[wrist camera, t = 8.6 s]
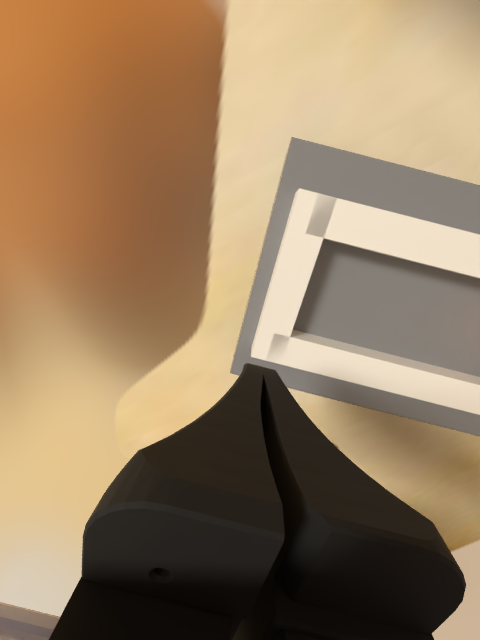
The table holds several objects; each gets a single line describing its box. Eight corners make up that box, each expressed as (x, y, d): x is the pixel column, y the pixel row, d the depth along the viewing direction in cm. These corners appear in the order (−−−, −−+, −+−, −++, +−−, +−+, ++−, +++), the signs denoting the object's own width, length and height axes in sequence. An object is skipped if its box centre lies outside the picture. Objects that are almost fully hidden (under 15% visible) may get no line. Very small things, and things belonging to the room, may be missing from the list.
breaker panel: (512, 427, 21) (567, 470, 17) (233, 357, 21) (227, 384, 17) (655, 246, 16) (779, 250, 12) (287, 151, 16) (295, 125, 12)
